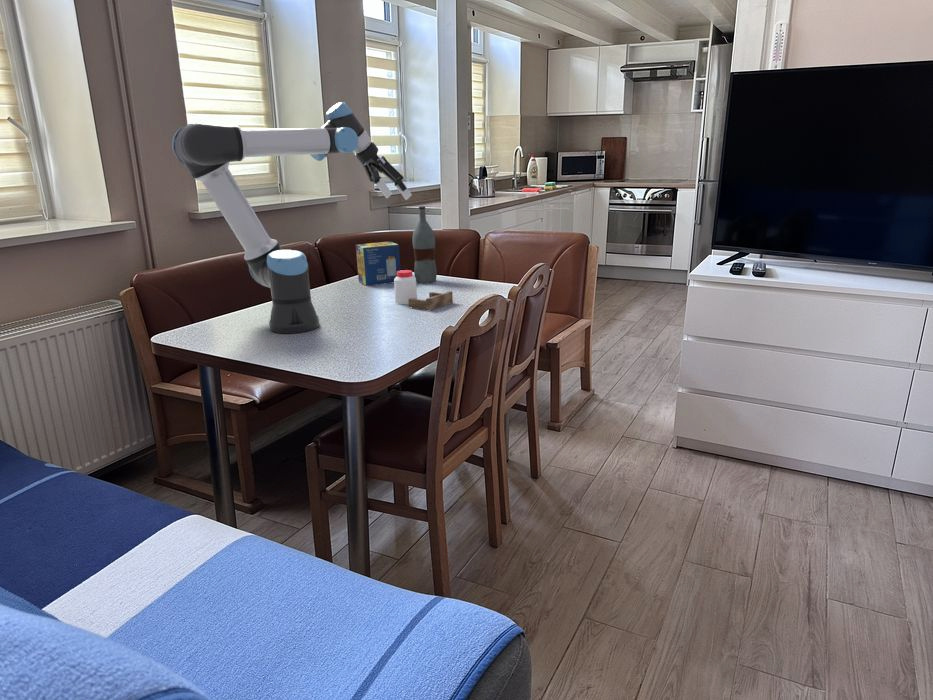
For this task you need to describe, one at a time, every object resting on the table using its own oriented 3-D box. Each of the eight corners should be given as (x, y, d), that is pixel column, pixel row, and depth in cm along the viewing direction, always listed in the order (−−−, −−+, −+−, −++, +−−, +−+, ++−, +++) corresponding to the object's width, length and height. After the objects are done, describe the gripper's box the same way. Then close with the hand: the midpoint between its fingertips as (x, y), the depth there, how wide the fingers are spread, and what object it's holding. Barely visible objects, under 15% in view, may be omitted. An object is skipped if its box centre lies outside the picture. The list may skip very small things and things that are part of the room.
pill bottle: (416, 304, 230) (414, 273, 226) (394, 304, 230) (392, 273, 227) (418, 299, 237) (416, 269, 234) (396, 299, 237) (394, 269, 234)
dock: (429, 310, 219) (428, 299, 218) (408, 307, 225) (407, 296, 223) (452, 302, 229) (452, 291, 228) (432, 300, 235) (431, 289, 233)
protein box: (358, 282, 273) (355, 244, 268) (393, 277, 279) (390, 241, 274) (365, 286, 263) (362, 247, 259) (401, 281, 269) (399, 243, 265)
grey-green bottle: (434, 284, 262) (430, 207, 253) (412, 284, 264) (407, 208, 255) (439, 279, 271) (436, 205, 262) (418, 279, 272) (413, 205, 264)
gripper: (388, 138, 210) (424, 190, 222) (353, 140, 230) (388, 188, 242) (372, 153, 208) (410, 205, 220) (339, 154, 228) (374, 202, 240)
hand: (398, 196), depth 231 cm, fingers open, 13 cm apart
